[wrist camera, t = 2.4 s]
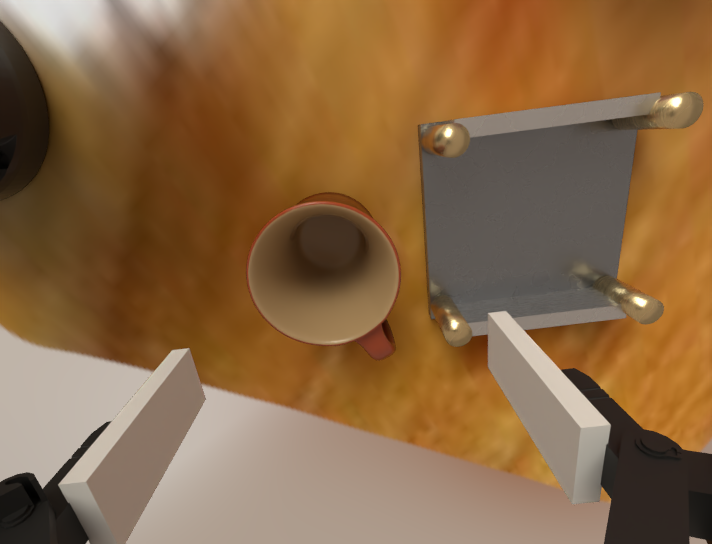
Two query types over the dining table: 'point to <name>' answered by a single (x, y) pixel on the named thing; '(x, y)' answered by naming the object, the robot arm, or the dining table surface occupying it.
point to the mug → (326, 274)
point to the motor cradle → (535, 212)
